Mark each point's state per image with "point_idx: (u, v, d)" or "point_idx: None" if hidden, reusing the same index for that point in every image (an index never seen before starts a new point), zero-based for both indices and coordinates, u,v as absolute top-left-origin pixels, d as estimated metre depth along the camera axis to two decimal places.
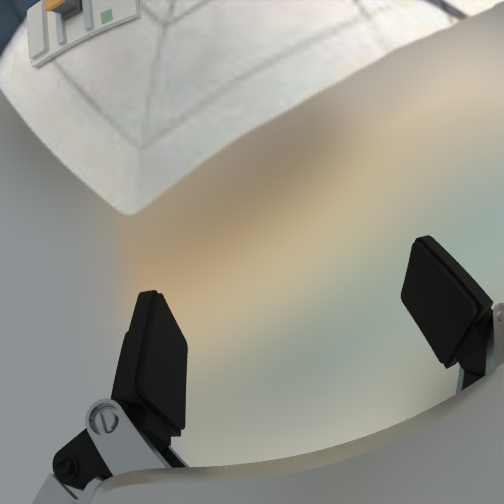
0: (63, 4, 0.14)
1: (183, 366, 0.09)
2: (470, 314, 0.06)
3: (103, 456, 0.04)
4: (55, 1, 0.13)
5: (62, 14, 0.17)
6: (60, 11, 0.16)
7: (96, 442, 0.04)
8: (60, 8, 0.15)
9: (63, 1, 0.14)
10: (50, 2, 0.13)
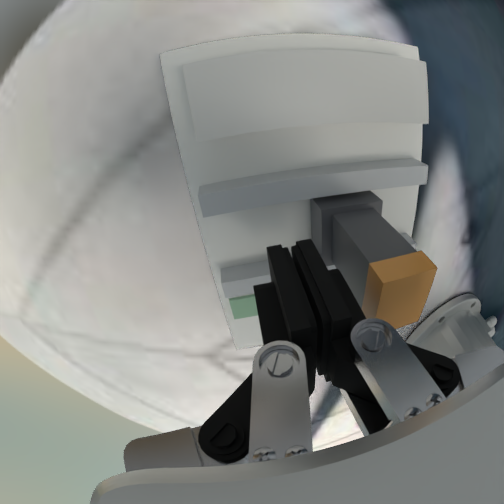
0: (357, 297, 0.10)
1: None
2: (321, 327, 0.07)
3: (253, 396, 0.05)
4: (386, 317, 0.08)
5: (333, 218, 0.11)
6: (345, 243, 0.10)
7: (254, 378, 0.06)
8: (354, 267, 0.10)
9: None
10: (401, 296, 0.08)
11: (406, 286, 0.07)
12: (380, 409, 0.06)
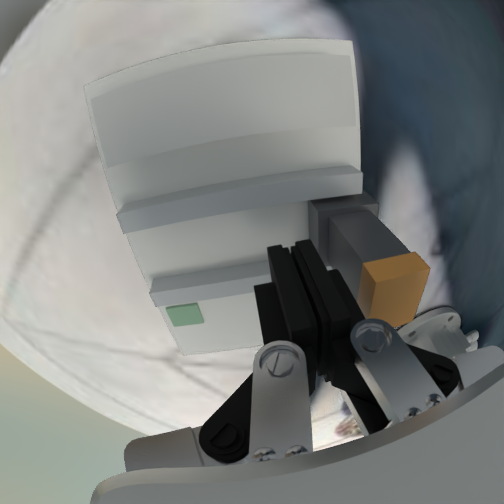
0: None
1: None
2: (320, 327, 0.07)
3: (253, 396, 0.05)
4: (379, 316, 0.08)
5: (330, 219, 0.11)
6: (341, 244, 0.10)
7: (254, 378, 0.06)
8: (348, 268, 0.10)
9: None
10: (394, 296, 0.08)
11: (399, 286, 0.08)
12: (380, 409, 0.06)
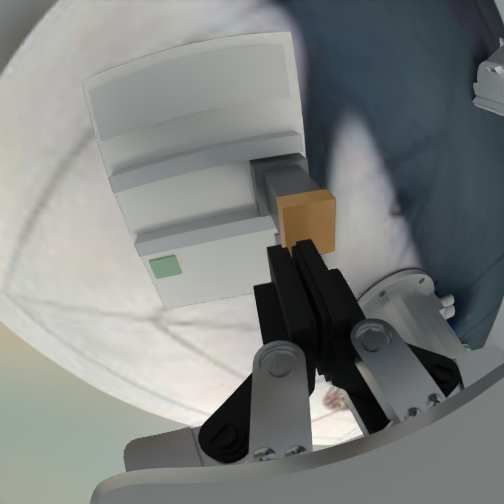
0: (279, 231, 0.13)
1: None
2: (321, 327, 0.07)
3: (253, 396, 0.05)
4: None
5: (263, 174, 0.14)
6: (269, 190, 0.13)
7: (253, 378, 0.06)
8: (275, 207, 0.13)
9: None
10: (305, 222, 0.11)
11: (306, 212, 0.10)
12: (380, 409, 0.06)
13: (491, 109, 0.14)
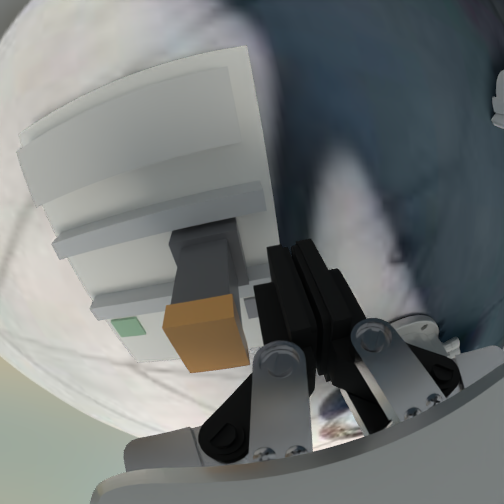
0: None
1: None
2: (321, 327, 0.07)
3: (253, 396, 0.05)
4: (193, 358, 0.08)
5: (181, 251, 0.11)
6: None
7: (253, 378, 0.06)
8: None
9: None
10: (198, 341, 0.08)
11: (196, 332, 0.08)
12: (380, 409, 0.06)
13: None
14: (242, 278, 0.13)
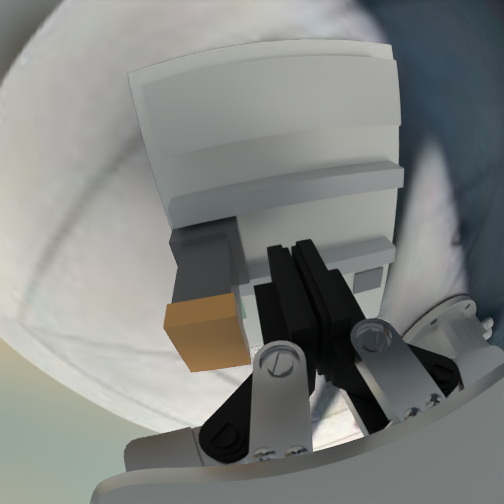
0: None
1: None
2: (321, 327, 0.07)
3: (253, 396, 0.05)
4: (194, 357, 0.08)
5: (181, 250, 0.11)
6: None
7: (254, 378, 0.06)
8: None
9: None
10: (199, 340, 0.08)
11: (198, 332, 0.08)
12: (380, 409, 0.06)
13: None
14: (243, 277, 0.13)
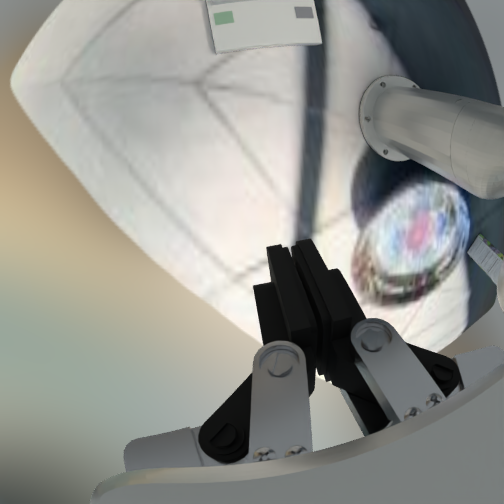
0: None
1: None
2: (321, 327, 0.07)
3: (253, 396, 0.05)
4: None
5: None
6: None
7: (254, 378, 0.06)
8: None
9: None
10: None
11: None
12: (380, 409, 0.06)
13: None
14: None
